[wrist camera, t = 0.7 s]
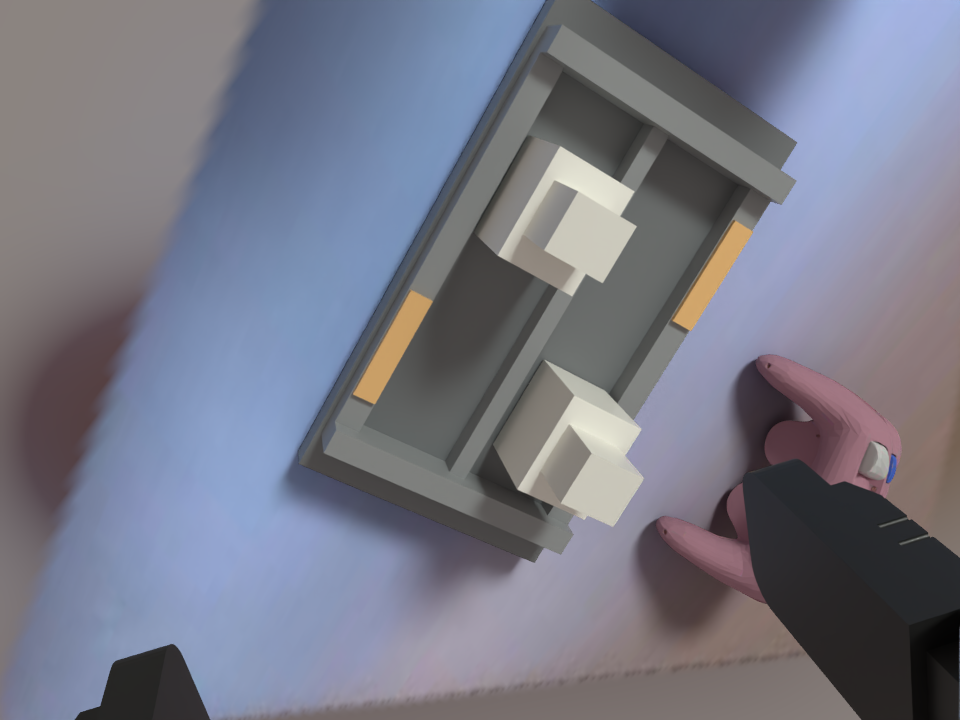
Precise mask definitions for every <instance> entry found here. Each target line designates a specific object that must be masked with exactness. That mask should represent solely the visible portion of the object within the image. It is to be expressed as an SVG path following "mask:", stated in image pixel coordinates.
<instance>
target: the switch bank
mask: <svg viewBox="0 0 960 720" xmlns="http://www.w3.org/2000/svg"><path fill="white" fill-rule="evenodd" d="M528 135H530V136H533V137H536V138H539V139H541V140H544V141H547V142H550V143H553V144H556V145H559V146H561V147H563V148H564V149H566V150H568V151H569V152H571V153H572V154H574V155H576V156H577V157H579V158H581V159H582V160H584V161H586V162H587V163H589V164H590V165H592V166H594V167H595V168H597V169H599V170H600V171H602V172H604V173H605V174H607V175H608V176H610V177H612V178H613V179H615V180H617V181H618V182H620V183H622V184H623V185H625V186H626V187H628V188H630V189H631V190H633V191H635V192H634V193H633V195H632V197H631V199H630V200H629V202H628V204H627V205H626V207H625V209H624V210H623V212H622V214H621V215H620V217H622V218H624V219H625V220H627V221H629V222H630V223H632V224H634V225H635V226H637V227H636V229H635V230H634V232H633V234H632V235H631V237H630V239H629V240H628V242H627V244H626V245H625V247H624V249H623V250H622V252H621V254H620V255H619V257H618V259H617V260H616V262H615V264H614V265H613V267H612V269H611V270H610V272H609V274H608V275H607V277H606V279H605V280H604V282H603V283H601V282H600V281H598V280H596V279H594V278H592V277H591V276H589V275H587V274H585V276H584V277H583V279H582V281H581V282H580V284H579V286H578V288H577V289H576V291H575V293H574V294H573V296H571V295H569V294H567V293H565V292H563V291H561V290H560V289H558V288H556V287H554V286H552V285H550V284H549V283H547V282H545V281H543V280H541V279H539V278H538V277H536V276H534V275H532V274H530V273H528V272H527V271H525V270H523V269H521V268H519V267H518V266H516V265H514V264H512V263H510V262H508V261H507V260H505V259H503V258H501V257H499V256H498V255H496V254H495V253H494V252H493V251H492V250H491V249H490V248H489V247H488V246H487V245H486V244H485V243H484V242H483V241H482V240H481V239H480V238H479V237H478V236H476V235H475V234H474V233H473V232H474V230H475V229H476V227H477V225H478V223H479V221H480V220H481V218H482V216H483V214H484V213H485V211H486V209H487V207H488V206H489V204H490V202H491V200H492V198H493V197H494V195H495V193H496V191H497V190H498V188H499V186H500V184H501V182H502V181H503V179H504V177H505V175H506V174H507V172H508V170H509V168H510V166H511V165H512V163H513V161H514V159H515V158H516V156H517V154H518V152H519V151H520V149H521V147H522V145H523V143H524V142H525V140H526V138H527V136H528ZM796 144H797V142H796V141H794V140H793V139H792V138H790V137H789V136H787V135H786V134H784V133H783V132H781V131H780V130H778V129H777V128H776V127H774V126H773V125H771V124H770V123H768V122H767V121H765V120H764V119H762V118H761V117H760V116H758V115H757V114H755V113H754V112H752V111H751V110H749V109H748V108H746V107H745V106H744V105H742V104H741V103H739V102H738V101H736V100H735V99H733V98H732V97H730V96H729V95H728V94H726V93H725V92H723V91H722V90H720V89H719V88H717V87H716V86H714V85H713V84H711V83H710V82H709V81H707V80H706V79H704V78H703V77H701V76H700V75H698V74H697V73H695V72H694V71H693V70H691V69H690V68H688V67H687V66H685V65H684V64H682V63H681V62H679V61H678V60H677V59H675V58H674V57H672V56H671V55H669V54H668V53H666V52H665V51H663V50H662V49H661V48H659V47H658V46H656V45H655V44H653V43H652V42H650V41H649V40H647V39H646V38H645V37H643V36H642V35H640V34H639V33H637V32H636V31H634V30H633V29H631V28H630V27H629V26H627V25H626V24H624V23H623V22H621V21H620V20H618V19H617V18H615V17H614V16H613V15H611V14H610V13H608V12H607V11H605V10H604V9H602V8H601V7H599V6H598V5H597V4H595V3H594V2H592V1H591V0H546V2H545V4H544V6H543V8H542V9H541V11H540V13H539V15H538V17H537V19H536V20H535V22H534V24H533V26H532V28H531V29H530V31H529V33H528V35H527V37H526V38H525V40H524V42H523V44H522V46H521V48H520V49H519V51H518V53H517V55H516V57H515V58H514V60H513V62H512V64H511V66H510V68H509V69H508V71H507V73H506V75H505V77H504V78H503V80H502V82H501V84H500V86H499V88H498V89H497V91H496V93H495V95H494V97H493V98H492V100H491V102H490V104H489V106H488V107H487V109H486V111H485V113H484V115H483V117H482V118H481V120H480V122H479V124H478V126H477V127H476V129H475V131H474V133H473V135H472V137H471V138H470V140H469V142H468V144H467V146H466V147H465V149H464V151H463V153H462V155H461V156H460V158H459V160H458V162H457V164H456V166H455V167H454V169H453V171H452V173H451V175H450V176H449V178H448V180H447V182H446V184H445V186H444V187H443V189H442V191H441V193H440V195H439V196H438V198H437V200H436V202H435V204H434V205H433V207H432V209H431V211H430V213H429V215H428V216H427V218H426V220H425V222H424V224H423V225H422V227H421V229H420V231H419V233H418V235H417V236H416V238H415V240H414V242H413V244H412V245H411V247H410V249H409V251H408V253H407V254H406V256H405V258H404V260H403V262H402V264H401V265H400V267H399V269H398V271H397V273H396V274H395V276H394V278H393V280H392V282H391V284H390V285H389V287H388V289H387V291H386V293H385V294H384V296H383V298H382V300H381V302H380V303H379V305H378V307H377V309H376V311H375V313H374V314H373V316H372V318H371V320H370V322H369V323H368V325H367V327H366V329H365V331H364V333H363V334H362V336H361V338H360V340H359V342H358V343H357V345H356V347H355V349H354V351H353V352H352V354H351V356H350V358H349V360H348V362H347V363H346V365H345V367H344V369H343V371H342V372H341V374H340V376H339V378H338V380H337V382H336V383H335V385H334V387H333V389H332V391H331V392H330V394H329V396H328V398H327V400H326V401H325V403H324V405H323V407H322V409H321V411H320V412H319V414H318V416H317V418H316V420H315V421H314V423H313V425H312V427H311V429H310V431H309V432H308V434H307V436H306V438H305V440H304V441H303V443H302V445H301V447H300V449H299V450H298V459H299V464H300V465H302V466H305V467H307V468H309V469H312V470H314V471H317V472H319V473H321V474H324V475H326V476H328V477H331V478H333V479H336V480H338V481H340V482H343V483H345V484H348V485H350V486H352V487H355V488H357V489H359V490H362V491H364V492H367V493H369V494H371V495H374V496H376V497H379V498H381V499H383V500H386V501H388V502H391V503H393V504H395V505H398V506H400V507H402V508H405V509H407V510H410V511H412V512H414V513H417V514H419V515H422V516H424V517H426V518H429V519H431V520H433V521H436V522H438V523H441V524H443V525H445V526H448V527H450V528H453V529H455V530H457V531H460V532H462V533H464V534H467V535H469V536H472V537H474V538H476V539H479V540H481V541H484V542H486V543H488V544H491V545H493V546H495V547H498V548H500V549H503V550H505V551H507V552H510V553H512V554H515V555H517V556H519V557H522V558H524V559H526V560H529V561H531V562H534V563H535V561H536V560H537V558H538V556H539V555H540V553H541V552H542V550H543V548H547V549H549V550H551V551H554V552H556V553H558V554H561V553H562V552H563V550H564V549H565V547H566V546H567V544H568V542H569V541H570V539H571V538H572V536H573V533H572V531H571V529H570V528H569V526H568V523H569V522H570V520H571V519H572V517H573V514H571V513H568V512H566V511H564V510H562V509H560V508H557V507H555V506H553V505H551V504H548V503H546V502H544V501H542V500H539V499H537V498H535V497H533V496H531V495H528V494H526V493H524V492H522V491H519V490H517V488H516V486H515V485H514V483H513V481H512V479H511V477H510V475H509V473H508V472H507V470H506V468H505V466H504V464H503V462H502V460H501V459H500V457H499V455H498V453H497V451H496V449H495V447H494V446H493V443H494V442H495V440H496V438H497V437H498V435H499V433H500V431H501V430H502V428H503V426H504V425H505V423H506V421H507V420H508V418H509V416H510V415H511V413H512V411H513V410H514V408H515V406H516V405H517V403H518V401H519V400H520V398H521V396H522V395H523V393H524V391H525V390H526V388H527V386H528V385H529V383H530V381H531V380H532V378H533V376H534V375H535V373H536V371H537V370H538V368H539V366H540V365H541V363H542V361H543V360H546V361H548V362H550V363H552V364H554V365H556V366H558V367H560V368H562V369H564V370H566V371H568V372H570V373H572V374H573V375H575V376H577V377H579V378H581V379H583V380H585V381H587V382H589V383H591V384H593V385H595V386H597V387H599V388H601V389H603V390H605V391H606V392H607V393H608V394H609V395H610V396H611V398H612V399H613V400H614V401H615V402H616V403H617V404H618V405H619V406H620V407H621V408H622V409H623V410H624V411H625V412H626V413H627V414H628V415H629V416H630V418H631V419H632V420H634V418H635V417H636V415H637V413H638V412H639V410H640V409H641V407H642V405H643V404H644V402H645V401H646V399H647V398H648V396H649V394H650V393H651V391H652V390H653V388H654V386H655V385H656V383H657V382H658V380H659V378H660V377H661V375H662V374H663V372H664V370H665V369H666V367H667V366H668V364H669V362H670V361H671V359H672V358H673V356H674V355H675V353H676V351H677V350H678V348H679V347H680V345H681V343H682V342H683V340H684V339H685V337H686V335H687V334H688V332H689V331H691V330H692V329H693V327H694V325H695V324H696V322H697V321H698V319H699V318H700V316H701V314H702V313H703V311H704V310H705V308H706V306H707V305H708V303H709V302H710V300H711V298H712V297H713V295H714V294H715V292H716V290H717V289H718V287H719V286H720V284H721V283H722V281H723V279H724V278H725V276H726V275H727V273H728V271H729V270H730V268H731V267H732V265H733V263H734V262H735V260H736V259H737V257H738V255H739V254H740V252H741V251H742V249H743V248H744V246H745V244H746V243H747V241H748V240H749V238H750V236H751V235H752V233H753V231H752V230H753V229H754V227H755V226H756V224H757V222H758V221H759V219H760V218H761V216H762V214H763V213H764V211H765V210H766V208H767V206H768V205H769V203H770V202H774V203H777V204H781V205H782V203H783V202H784V200H785V198H786V197H787V195H788V194H789V192H790V191H791V189H792V187H793V186H794V184H795V183H796V180H795V179H793V178H792V177H790V176H789V175H787V174H786V173H784V172H783V171H781V168H782V166H783V165H784V163H785V162H786V160H787V158H788V157H789V155H790V154H791V152H792V150H793V149H794V147H795V146H796Z"/></svg>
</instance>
